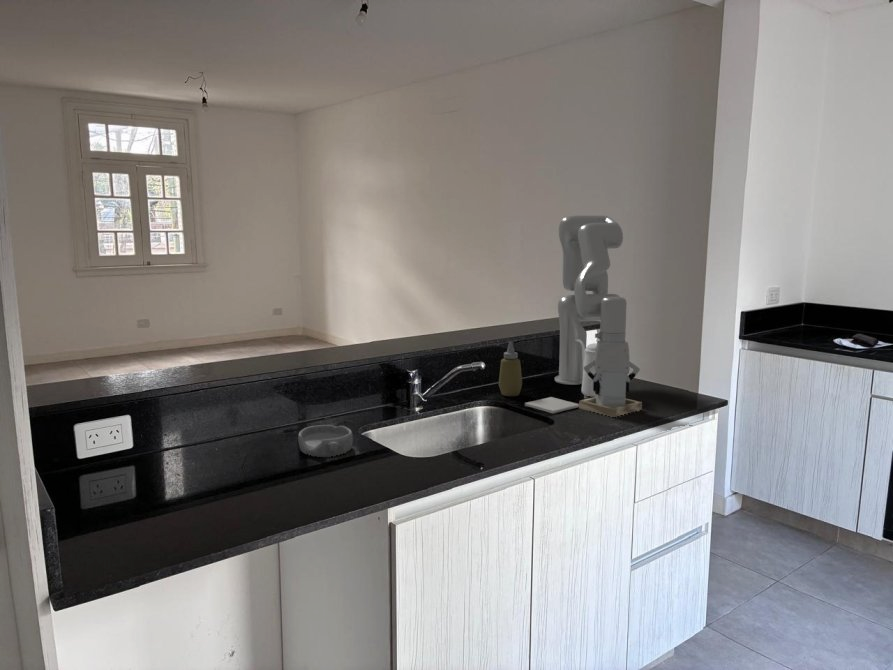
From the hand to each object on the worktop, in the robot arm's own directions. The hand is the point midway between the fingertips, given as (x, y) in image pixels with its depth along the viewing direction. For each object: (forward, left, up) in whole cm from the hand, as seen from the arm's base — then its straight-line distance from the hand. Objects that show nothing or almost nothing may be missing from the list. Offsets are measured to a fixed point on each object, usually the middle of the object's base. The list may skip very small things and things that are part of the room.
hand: (610, 393), depth 205 cm
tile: (+11, -14, -5) cm, 19 cm away
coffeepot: (-12, -15, -5) cm, 20 cm away
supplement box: (0, 0, -5) cm, 5 cm away
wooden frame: (0, 0, -5) cm, 5 cm away
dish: (+86, -22, -5) cm, 89 cm away
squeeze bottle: (+11, -33, -5) cm, 35 cm away
